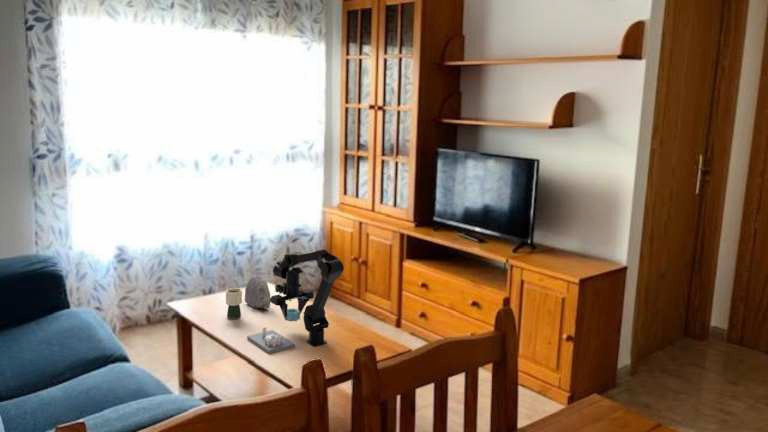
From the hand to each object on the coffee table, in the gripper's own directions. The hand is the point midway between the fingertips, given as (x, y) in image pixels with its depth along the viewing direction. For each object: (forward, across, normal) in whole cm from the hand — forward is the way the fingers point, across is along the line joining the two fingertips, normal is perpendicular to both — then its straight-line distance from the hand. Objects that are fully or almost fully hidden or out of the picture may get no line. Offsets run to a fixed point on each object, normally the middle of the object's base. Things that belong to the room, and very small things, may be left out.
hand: (292, 315), depth 281 cm
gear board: (+7, +14, +6) cm, 17 cm away
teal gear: (+1, 0, 0) cm, 1 cm away
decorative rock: (+8, -3, -36) cm, 37 cm away
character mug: (+7, +13, -29) cm, 32 cm away
